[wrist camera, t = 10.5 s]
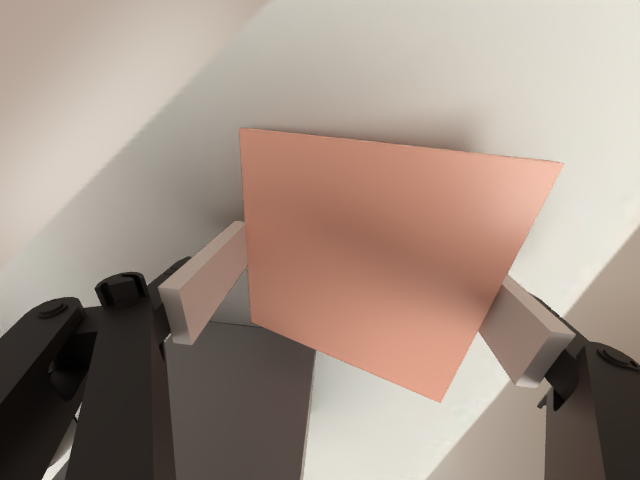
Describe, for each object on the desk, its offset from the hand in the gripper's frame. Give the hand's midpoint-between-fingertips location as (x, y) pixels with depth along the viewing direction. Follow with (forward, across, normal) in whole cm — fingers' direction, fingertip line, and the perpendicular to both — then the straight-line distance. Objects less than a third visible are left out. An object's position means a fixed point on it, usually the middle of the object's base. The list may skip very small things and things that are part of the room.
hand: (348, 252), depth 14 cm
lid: (-1, 0, 0) cm, 1 cm away
